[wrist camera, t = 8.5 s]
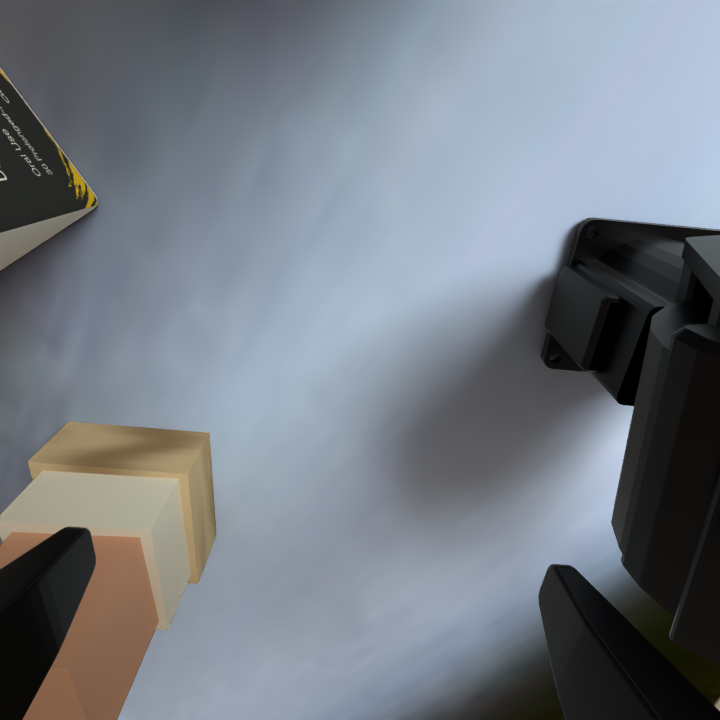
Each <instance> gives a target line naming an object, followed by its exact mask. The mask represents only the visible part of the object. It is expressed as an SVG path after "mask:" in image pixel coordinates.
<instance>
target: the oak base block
mask: <svg viewBox="0 0 720 720" xmlns="http://www.w3.org/2000/svg"><path fill="white" fill-rule="evenodd" d="M28 465H29V469H30V473H31V476H32V480H34V479H35V478H36V477H37V476H38V475H39V474H40V473H41V472H42V471H59V472H75V473H92V474H108V475H124V476H140V477H156V478H172V479H179V486H180V494H181V501H182V509H183V517H184V524H185V532H186V539H187V547H188V554H189V562H190V569H191V575H190V577H189V580H188V582H187V583H199V580H200V577H201V575H202V572H203V569H204V567H205V564H206V561H207V559H208V556H209V553H210V551H211V548H212V545H213V543H214V540H215V538H216V523H215V508H214V493H213V478H212V462H211V447H210V433H205V432H192V431H180V430H167V429H155V428H142V427H129V426H117V425H104V424H92V423H79V422H68V423H67V424H66V425H65V426H64V427H63V428H61V429H60V430H59V431H58V432H57V433H56V434H55V435H54V436H53V437H52V438H51V439H50V440H49V441H48V442H47V443H46V444H45V445H44V446H43V447H42V448H41V449H40V450H39V451H38V452H37V453H36V454H35V455H34V456H33V457H32V458H31V459H30V460H29V461H28Z"/></svg>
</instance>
